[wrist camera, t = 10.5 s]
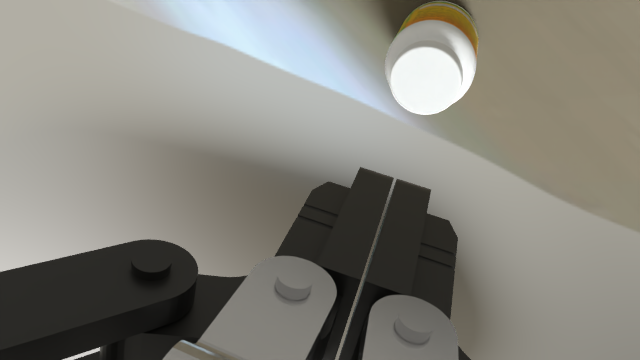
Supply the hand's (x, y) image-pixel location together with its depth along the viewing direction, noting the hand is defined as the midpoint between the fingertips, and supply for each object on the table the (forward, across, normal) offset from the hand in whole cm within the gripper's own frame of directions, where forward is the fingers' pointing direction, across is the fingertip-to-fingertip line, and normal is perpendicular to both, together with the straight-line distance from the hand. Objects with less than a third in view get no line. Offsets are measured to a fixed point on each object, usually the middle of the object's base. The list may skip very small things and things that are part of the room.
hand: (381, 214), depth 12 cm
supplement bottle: (+31, 0, +4) cm, 31 cm away
